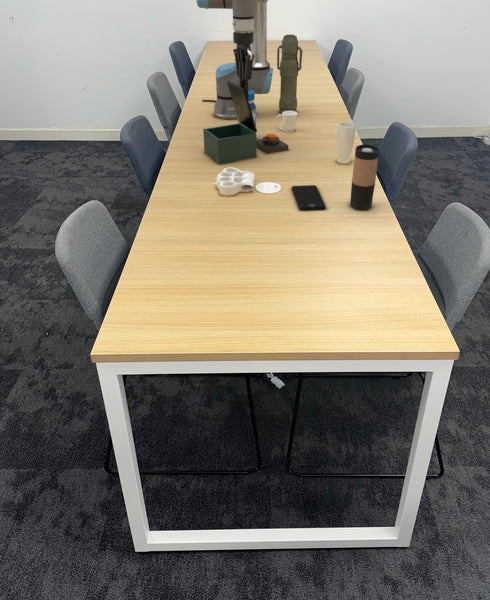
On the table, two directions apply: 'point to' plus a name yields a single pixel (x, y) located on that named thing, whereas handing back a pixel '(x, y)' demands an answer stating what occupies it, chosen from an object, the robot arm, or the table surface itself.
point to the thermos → (289, 72)
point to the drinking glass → (345, 141)
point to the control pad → (271, 145)
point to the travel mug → (364, 176)
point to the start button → (271, 137)
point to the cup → (288, 120)
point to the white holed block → (234, 181)
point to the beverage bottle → (251, 105)
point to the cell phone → (308, 197)
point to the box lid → (242, 106)
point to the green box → (229, 143)
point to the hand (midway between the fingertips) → (244, 97)
